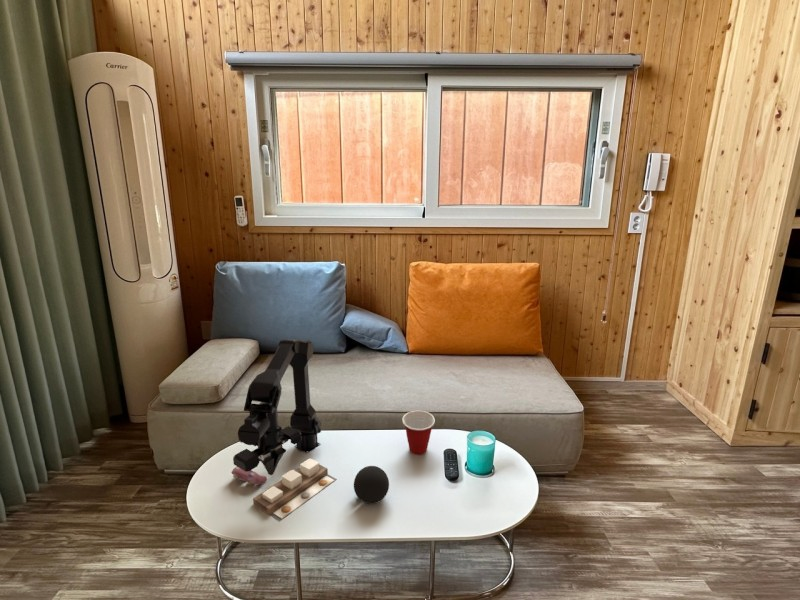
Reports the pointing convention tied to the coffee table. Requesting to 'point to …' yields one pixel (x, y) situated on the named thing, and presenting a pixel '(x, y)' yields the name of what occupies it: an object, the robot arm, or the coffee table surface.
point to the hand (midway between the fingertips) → (270, 474)
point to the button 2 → (309, 467)
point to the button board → (295, 494)
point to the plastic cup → (418, 430)
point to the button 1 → (272, 494)
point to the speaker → (371, 484)
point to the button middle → (291, 479)
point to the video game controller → (249, 476)
